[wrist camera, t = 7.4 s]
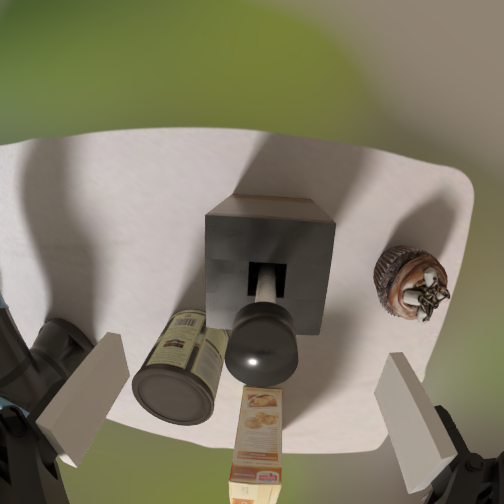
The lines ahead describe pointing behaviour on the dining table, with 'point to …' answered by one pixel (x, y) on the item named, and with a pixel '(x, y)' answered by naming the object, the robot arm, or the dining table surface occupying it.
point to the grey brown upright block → (267, 257)
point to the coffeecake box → (257, 448)
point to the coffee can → (182, 370)
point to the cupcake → (410, 283)
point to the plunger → (263, 335)
